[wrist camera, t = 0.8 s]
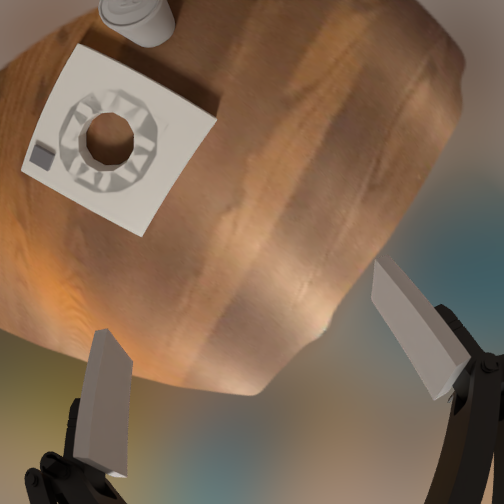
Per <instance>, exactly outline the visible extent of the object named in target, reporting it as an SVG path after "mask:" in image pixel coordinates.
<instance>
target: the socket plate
mask: <svg viewBox="0 0 504 504" xmlns="http://www.w3.org/2000/svg"><path fill="white" fill-rule="evenodd" d="M108 112H114V113H116V114H117V115H119V116H121V117H123V118H125V119H126V120H127V121H128V123H129V125H130V127H131V129H132V130H133V132H134V150H133V152H132V154H131V155H130V157H129V159H128V160H126V161H124V162H123V163H121V164H120V165H104V164H102V163H100V162H98V161H97V160H95V159H93V157H92V155H91V154H90V152H89V150H88V149H87V147H86V132H87V130H88V128H89V126H90V124H91V122H92V120H93V119H94V118H95V117H97V116H98V115H100V114H101V113H108ZM216 121H217V118H216V117H215V116H213V115H212V114H210V113H208V112H207V111H205V110H204V109H202V108H200V107H199V106H197V105H196V104H194V103H192V102H191V101H189V100H187V99H186V98H184V97H182V96H181V95H179V94H177V93H176V92H174V91H172V90H170V89H169V88H167V87H165V86H164V85H162V84H160V83H158V82H156V81H155V80H153V79H151V78H149V77H147V76H146V75H144V74H142V73H140V72H138V71H136V70H134V69H133V68H131V67H129V66H127V65H125V64H123V63H121V62H119V61H117V60H115V59H113V58H111V57H109V56H107V55H105V54H103V53H101V52H99V51H97V50H94V49H92V48H90V47H88V46H86V45H82V44H77V46H76V48H75V49H74V51H73V53H72V54H71V56H70V58H69V60H68V61H67V63H66V65H65V67H64V68H63V70H62V72H61V74H60V76H59V78H58V80H57V82H56V84H55V86H54V88H53V90H52V92H51V94H50V96H49V98H48V100H47V103H46V105H45V107H44V109H43V112H42V114H41V116H40V119H39V121H38V124H37V126H36V129H35V131H34V134H33V136H32V139H31V142H30V145H29V148H28V150H27V153H26V156H25V159H24V163H23V166H22V169H21V171H22V172H24V173H26V174H28V175H29V176H31V177H33V178H34V179H36V180H38V181H40V182H41V183H43V184H45V185H47V186H48V187H50V188H52V189H54V190H55V191H57V192H59V193H61V194H62V195H64V196H66V197H68V198H70V199H71V200H73V201H75V202H77V203H79V204H80V205H82V206H84V207H86V208H88V209H89V210H91V211H93V212H95V213H97V214H99V215H101V216H102V217H104V218H106V219H108V220H110V221H112V222H114V223H115V224H117V225H119V226H121V227H123V228H125V229H127V230H129V231H131V232H132V233H134V234H136V235H138V236H140V237H142V236H143V234H144V232H145V231H146V229H147V227H148V225H149V224H150V222H151V220H152V218H153V217H154V215H155V213H156V212H157V210H158V208H159V207H160V205H161V203H162V202H163V200H164V198H165V197H166V195H167V194H168V192H169V190H170V189H171V187H172V186H173V184H174V182H175V181H176V179H177V178H178V176H179V175H180V173H181V172H182V170H183V169H184V167H185V166H186V164H187V163H188V161H189V160H190V158H191V157H192V155H193V154H194V152H195V151H196V149H197V148H198V146H199V145H200V143H201V142H202V141H203V139H204V138H205V136H206V135H207V134H208V132H209V131H210V129H211V128H212V127H213V125H214V124H215V122H216Z"/></svg>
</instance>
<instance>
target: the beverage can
mask: <svg viewBox="0 0 504 504" xmlns="http://www.w3.org/2000/svg"><path fill="white" fill-rule="evenodd" d="M98 9H99V15H100V17H101V19H102V21H103V22H104V23H105V24H106V25H107V26H108V27H109V28H111V29H113V30H114V31H116V32H118V33H120V34H121V35H123V36H125V37H126V38H128V39H130V40H131V41H133V42H134V43H136V44H138V45H140V46H142V47H155V46H158V45H160V44H162V43H163V42H165V41H166V40H167V39H169V38H170V36H171V35H172V34H173V32H174V29H175V21H174V17H173V15H172V12H171V10H170V7H169V5H168V2H167V0H100V2H99V7H98Z"/></svg>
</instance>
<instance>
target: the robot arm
mask: <svg viewBox="0 0 504 504" xmlns="http://www.w3.org/2000/svg"><path fill="white" fill-rule="evenodd" d="M371 301H372V302H373V303H374V305H375V306H376V308H377V309H378V311H379V312H380V314H381V315H382V317H383V319H384V320H385V321H386V323H387V325H388V326H389V328H390V329H391V331H392V332H393V334H394V335H395V337H396V339H397V340H398V342H399V343H400V345H401V346H402V348H403V350H404V351H405V353H406V354H407V356H408V358H409V359H410V361H411V363H412V364H413V366H414V367H415V369H416V371H417V372H418V374H419V376H420V378H421V379H422V381H423V382H424V384H425V386H426V388H427V389H428V391H429V393H430V395H431V396H432V398H433V400H436V399H438V398H439V397H441V396H443V395H444V394H446V393H448V391H449V389H450V388H451V387H452V386H453V388H454V390H455V391H454V392H453V394H452V395H451V396H450V398H449V400H448V403H450V402H451V400H452V399H453V401H452V406H451V412H450V417H449V422H448V426H447V431H446V435H445V439H444V444H443V447H442V451H441V455H440V458H439V462H438V465H437V468H436V472H435V475H434V478H433V481H432V484H431V486H430V489H429V492H428V495H427V498H426V500H425V503H424V504H481V501H482V498H483V495H484V491H485V488H486V484H487V480H488V476H489V471H490V467H491V463H492V458H493V453H494V481H493V496H492V504H504V354H503V355H499V356H495V355H494V354H492V353H485V352H484V351H483V350H482V349H481V348H480V346H479V345H478V344H477V342H476V341H475V340H474V338H473V337H472V336H471V335H470V333H469V332H468V331H467V329H466V328H465V327H463V324H462V323H461V322H460V320H458V318H457V317H456V316H455V314H454V313H453V312H452V311H451V310H450V309H448V308H447V307H445V306H444V305H442V304H440V305H438V306H436V307H433V306H432V305H431V304H430V302H429V301H428V300H427V299H426V298H425V296H424V295H423V294H422V293H421V292H420V290H419V289H418V288H417V287H416V286H415V284H414V283H413V282H412V281H411V280H410V279H409V277H408V276H407V275H406V274H405V273H404V272H403V271H402V269H401V268H400V267H399V266H398V265H397V264H396V263H395V262H394V260H393V259H392V258H391V257H390V256H389V255H385V256H382V257H379V258H376V259H375V265H374V277H373V287H372V296H371ZM132 367H133V361H132V360H131V358H130V357H129V356H128V355H127V353H126V352H125V351H124V350H123V348H122V347H121V346H120V344H119V343H118V342H117V340H116V339H115V338H114V336H113V335H112V334H111V332H110V331H109V330H108V329H103V330H98V331H95V334H94V338H93V342H92V346H91V350H90V355H89V359H88V363H87V369H86V373H85V378H84V383H83V388H82V394H81V398H75V400H74V401H73V403H72V405H71V407H70V412H69V420H68V424H67V426H68V428H67V432H66V438H65V448H64V455H63V457H62V456H60V455H58V454H57V453H55V452H47V453H45V454H44V455H43V457H42V458H41V461H40V470H41V471H40V470H38V469H36V468H30V469H29V470H27V472H26V474H25V486H26V489H27V493H28V497H29V501H30V504H57V502H58V504H127V503H126V502H125V501H124V500H123V498H122V497H121V496H120V495H119V493H118V492H117V491H116V490H115V489H114V487H113V486H112V485H111V483H110V482H109V481H108V480H107V479H106V478H105V473H106V474H108V475H110V476H113V477H127V443H128V442H127V440H128V418H129V401H130V388H131V377H132Z"/></svg>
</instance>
